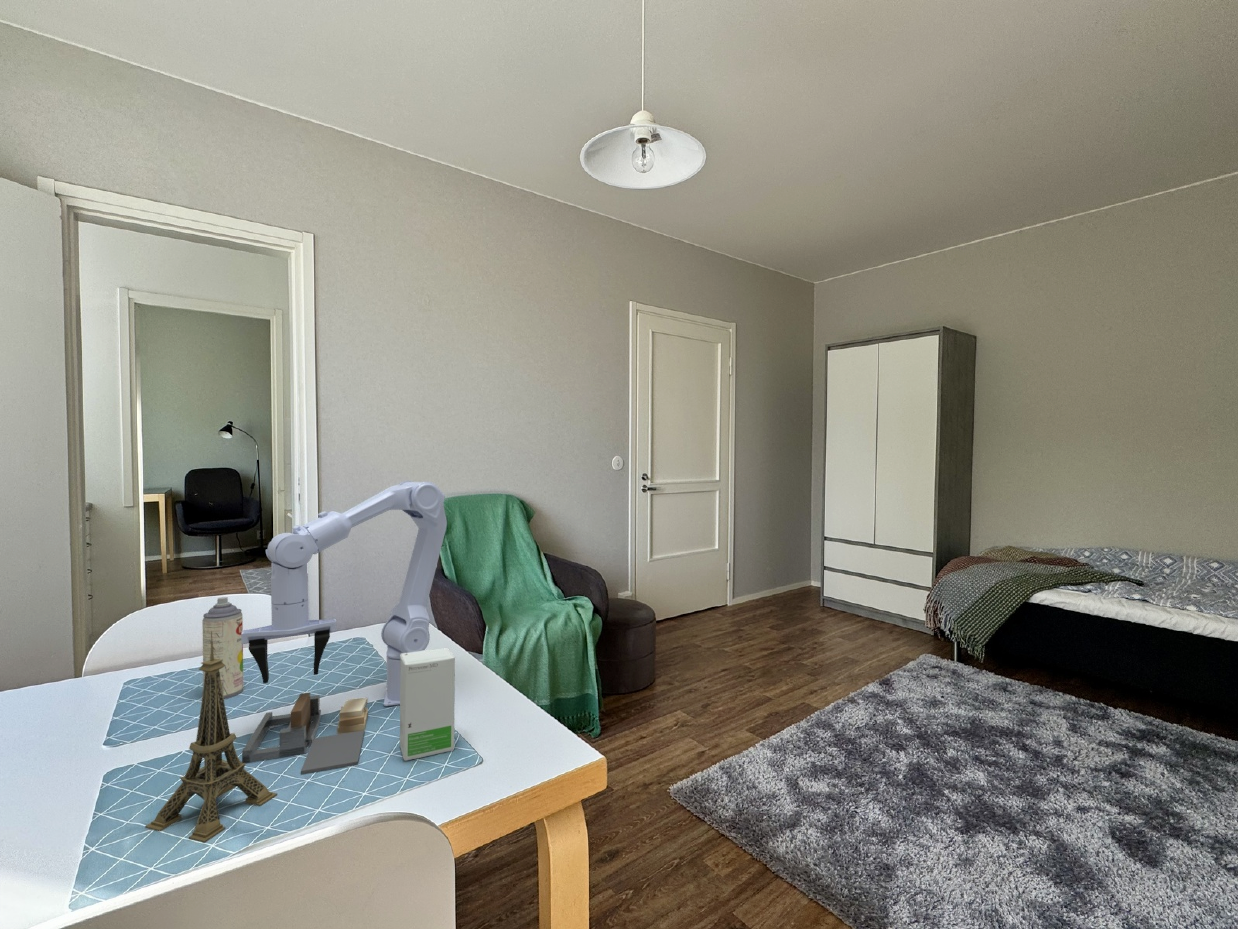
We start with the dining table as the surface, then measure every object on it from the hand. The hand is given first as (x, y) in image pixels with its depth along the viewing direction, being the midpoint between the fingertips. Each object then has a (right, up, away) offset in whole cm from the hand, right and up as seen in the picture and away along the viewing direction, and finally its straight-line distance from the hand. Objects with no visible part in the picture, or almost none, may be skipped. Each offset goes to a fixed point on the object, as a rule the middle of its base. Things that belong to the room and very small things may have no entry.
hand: (291, 677), depth 100 cm
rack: (0, -10, -2) cm, 10 cm away
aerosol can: (-24, -10, +17) cm, 31 cm away
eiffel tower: (+2, -10, -22) cm, 25 cm away
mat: (+11, -10, -7) cm, 17 cm away
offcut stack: (+10, -10, +3) cm, 14 cm away
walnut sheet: (+2, -10, -1) cm, 10 cm away
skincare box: (+26, -10, -6) cm, 29 cm away
